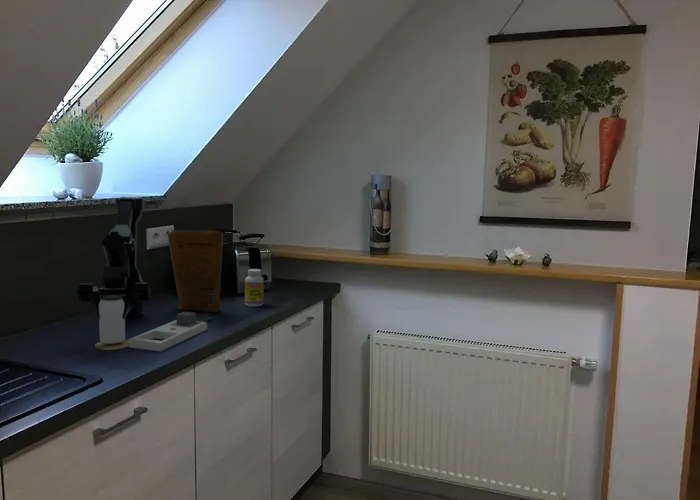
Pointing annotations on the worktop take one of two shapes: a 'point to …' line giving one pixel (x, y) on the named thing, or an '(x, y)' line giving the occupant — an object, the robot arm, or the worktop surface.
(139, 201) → the robot arm
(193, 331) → the strip dock
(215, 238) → the pancake mix bag
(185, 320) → the block
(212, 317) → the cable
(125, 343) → the cork coaster
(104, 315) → the can
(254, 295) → the supplement bottle
